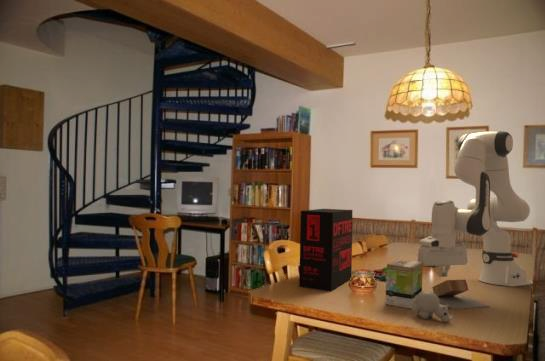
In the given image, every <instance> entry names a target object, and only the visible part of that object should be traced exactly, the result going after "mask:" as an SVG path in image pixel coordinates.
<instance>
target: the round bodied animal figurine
mask: <svg viewBox="0 0 545 361" xmlns="http://www.w3.org/2000/svg"><path fill="white" fill-rule="evenodd" d="M448 306H449V305H441V304H440V301H439V298H438V297H437V295H436V294H435V293H434V292H433V291H430V290H422V292H420V293H419V295H418V296H417V299H416V303H415V304H414V305H413V307H412V309H411V311H412V312H413V313H415V314H419V316H420V318H421V319H423V320H428V319H429V318H431V317H433V315H436V317H438V318H439V319H440V320H441V321H442V322H443V323H449V322H450V321H451V320H452V318H453V314H451V315H450V314H449V308H448Z"/></svg>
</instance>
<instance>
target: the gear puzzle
mask: <svg viewBox="0 0 545 361" xmlns="http://www.w3.org/2000/svg"><path fill="white" fill-rule="evenodd" d="M372 271H373V272H374V273H375V276H374V278H375V280H374V281H378V282H384V283H386V274H387V266H386V267H385V266H384V267H383V268H379V269H374V270H372Z"/></svg>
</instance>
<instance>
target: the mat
mask: <svg viewBox="0 0 545 361" xmlns="http://www.w3.org/2000/svg"><path fill="white" fill-rule="evenodd" d="M438 298H439V301H440V304H441V305H449V306H448V309H450V310H461V309H463V310H464V309H478V308H491V305H489V304H486V303H484V302H481V301H479V300H476V299H473V298H471V297H468V296H466V295H455V296H447V297H438Z"/></svg>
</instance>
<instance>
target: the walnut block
mask: <svg viewBox="0 0 545 361" xmlns="http://www.w3.org/2000/svg"><path fill="white" fill-rule="evenodd" d="M431 289H432V292H433V293H435V294H436V295H437V297H447V296H459V295H461V294H462V293H465V292H467V291H469V286H468V283H467V280H466V279H447V280H444V281H443V282H441V283H438V284H436V285H434V286H432V287H431Z"/></svg>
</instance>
